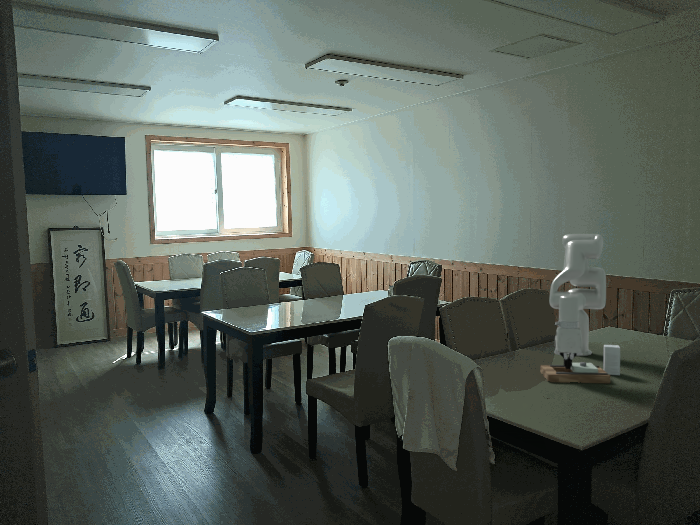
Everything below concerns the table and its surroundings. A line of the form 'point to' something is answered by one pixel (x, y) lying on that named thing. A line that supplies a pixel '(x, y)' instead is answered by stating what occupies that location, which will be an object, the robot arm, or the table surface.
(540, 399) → the table surface
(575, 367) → the lid
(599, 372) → the brown wooden sliding box
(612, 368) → the skincare box
